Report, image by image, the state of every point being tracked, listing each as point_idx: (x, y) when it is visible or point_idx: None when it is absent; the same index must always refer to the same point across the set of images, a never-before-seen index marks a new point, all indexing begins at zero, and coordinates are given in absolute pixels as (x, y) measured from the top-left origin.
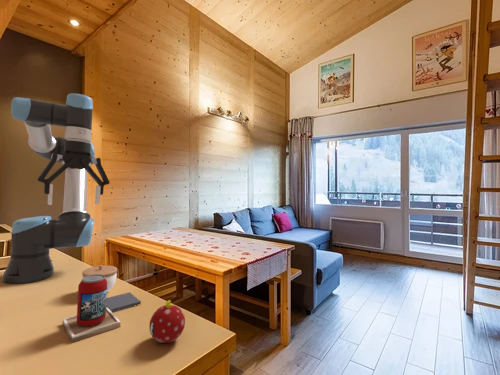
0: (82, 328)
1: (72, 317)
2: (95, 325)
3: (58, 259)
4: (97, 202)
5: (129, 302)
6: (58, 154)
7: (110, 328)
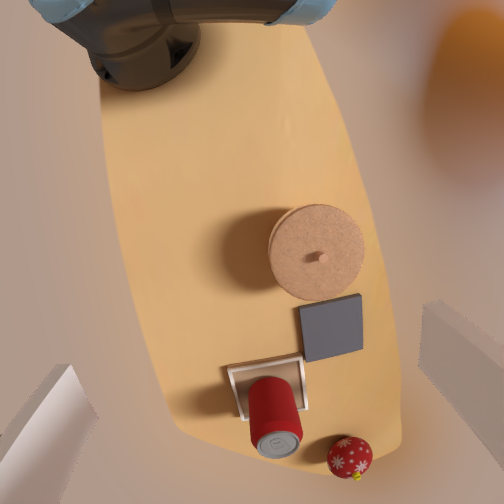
0: None
1: (242, 370)
2: None
3: None
4: (426, 375)
5: (344, 346)
6: None
7: None
